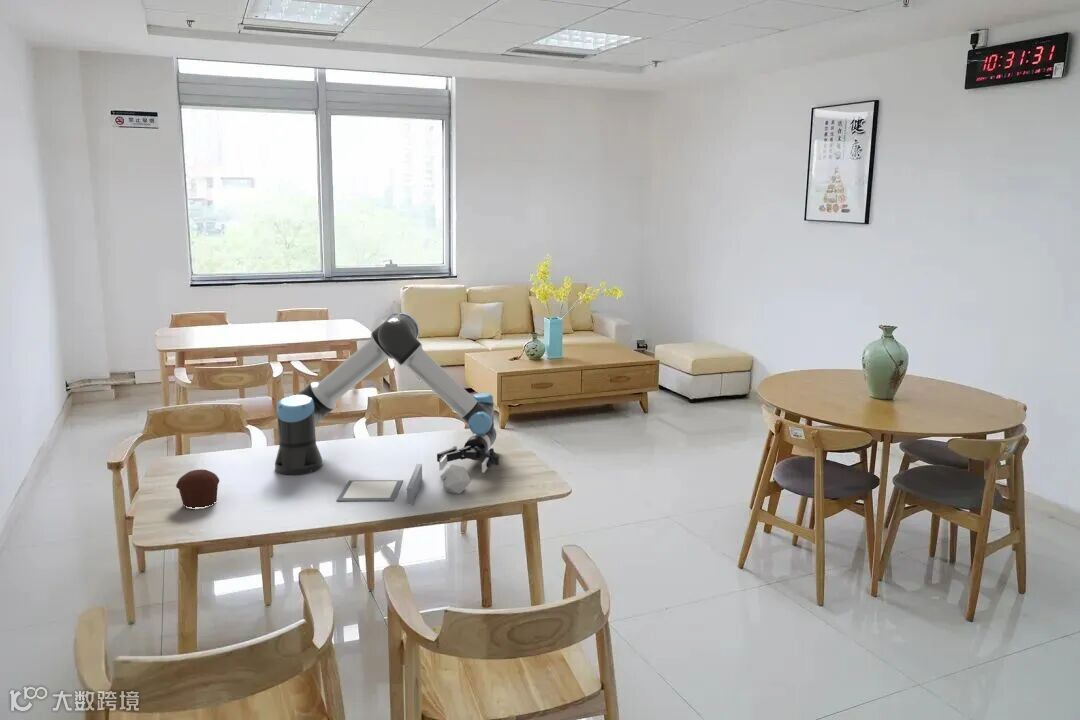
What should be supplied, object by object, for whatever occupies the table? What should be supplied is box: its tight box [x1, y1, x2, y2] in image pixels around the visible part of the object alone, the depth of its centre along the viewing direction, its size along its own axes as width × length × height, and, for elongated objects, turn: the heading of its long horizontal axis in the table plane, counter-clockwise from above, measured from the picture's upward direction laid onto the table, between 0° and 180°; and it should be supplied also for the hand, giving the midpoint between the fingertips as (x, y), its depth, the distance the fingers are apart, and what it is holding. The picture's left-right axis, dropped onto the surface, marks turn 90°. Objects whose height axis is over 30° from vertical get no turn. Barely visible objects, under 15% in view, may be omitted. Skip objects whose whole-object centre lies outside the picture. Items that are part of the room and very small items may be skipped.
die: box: [439, 463, 472, 495], centre depth 243 cm, size 8×9×10 cm
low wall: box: [406, 463, 423, 506], centre depth 243 cm, size 2×22×5 cm, turn 1°
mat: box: [335, 479, 404, 503], centre depth 243 cm, size 17×17×1 cm
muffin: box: [175, 469, 220, 508], centre depth 232 cm, size 12×11×10 cm
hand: (461, 467), depth 248 cm, fingers open, 13 cm apart
